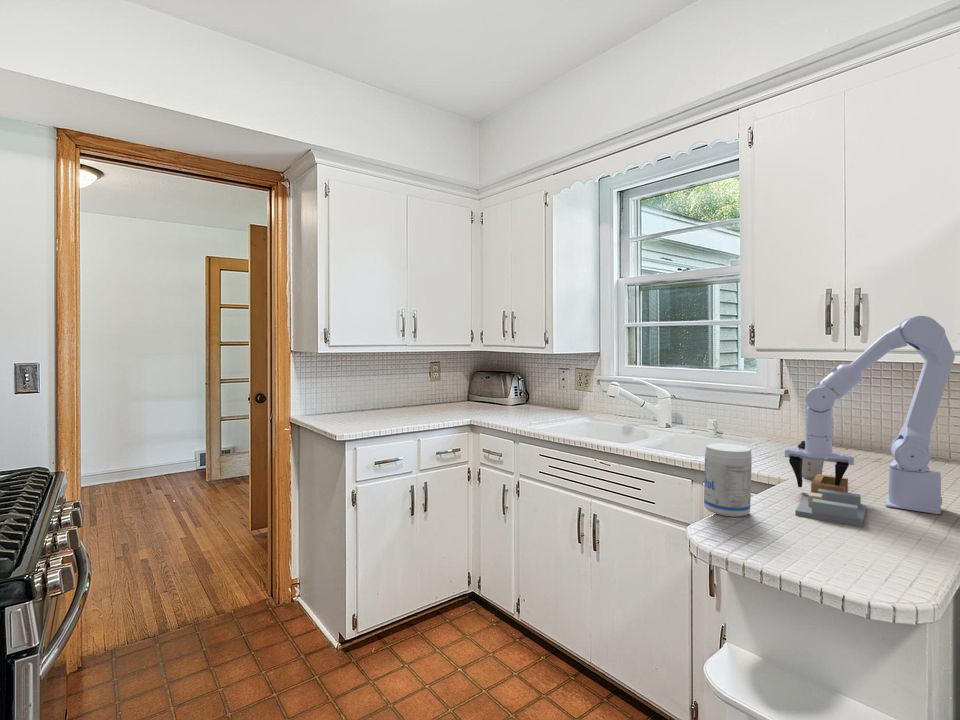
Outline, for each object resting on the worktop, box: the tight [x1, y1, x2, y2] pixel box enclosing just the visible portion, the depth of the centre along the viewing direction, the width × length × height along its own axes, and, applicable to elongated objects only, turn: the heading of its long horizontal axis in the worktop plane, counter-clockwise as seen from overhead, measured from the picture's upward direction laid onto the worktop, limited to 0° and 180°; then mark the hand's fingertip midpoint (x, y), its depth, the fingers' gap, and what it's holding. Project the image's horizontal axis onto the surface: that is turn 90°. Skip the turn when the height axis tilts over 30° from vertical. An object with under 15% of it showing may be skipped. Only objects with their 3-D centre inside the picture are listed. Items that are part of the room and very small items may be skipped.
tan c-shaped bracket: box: [810, 473, 849, 493], centre depth 128 cm, size 7×12×4 cm, turn 141°
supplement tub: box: [703, 442, 753, 518], centre depth 117 cm, size 10×10×15 cm
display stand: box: [795, 489, 867, 528], centre depth 116 cm, size 12×14×4 cm
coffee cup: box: [797, 440, 825, 480], centre depth 147 cm, size 7×7×10 cm
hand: (817, 489), depth 130 cm, fingers open, 7 cm apart
